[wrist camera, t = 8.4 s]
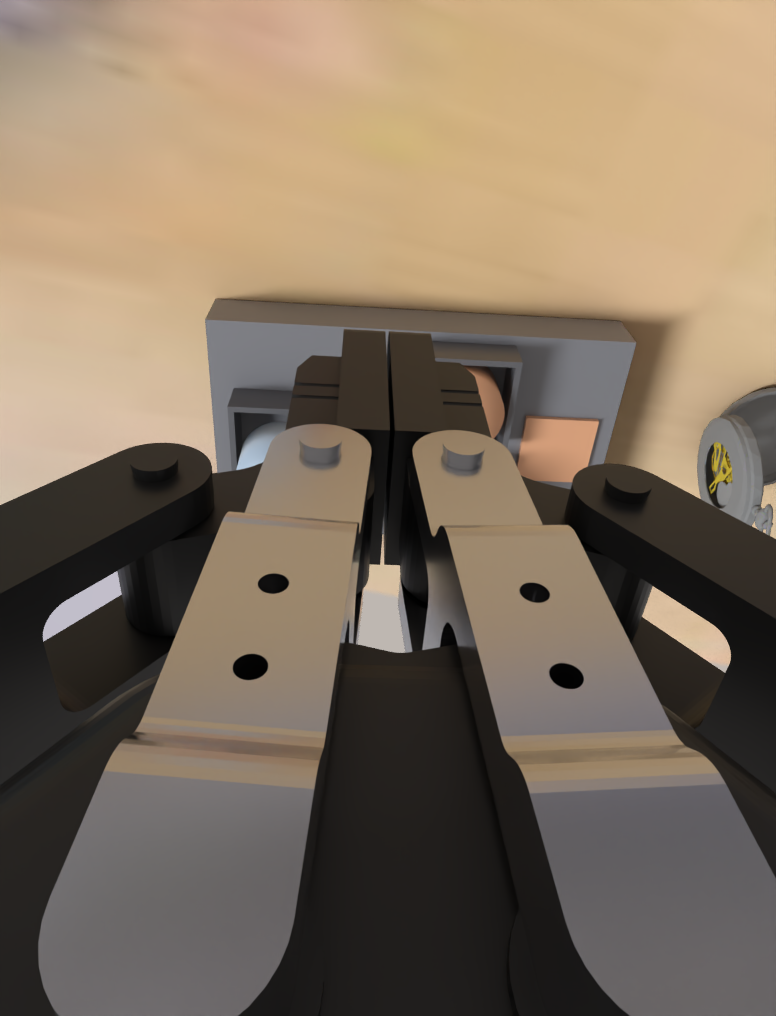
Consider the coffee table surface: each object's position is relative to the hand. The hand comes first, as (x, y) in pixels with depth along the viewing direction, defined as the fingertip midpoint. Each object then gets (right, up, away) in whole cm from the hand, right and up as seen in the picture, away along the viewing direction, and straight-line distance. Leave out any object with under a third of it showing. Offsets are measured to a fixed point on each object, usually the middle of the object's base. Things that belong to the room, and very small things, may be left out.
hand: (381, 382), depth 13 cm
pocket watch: (+21, +2, +32) cm, 39 cm away
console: (+1, +3, +31) cm, 31 cm away
